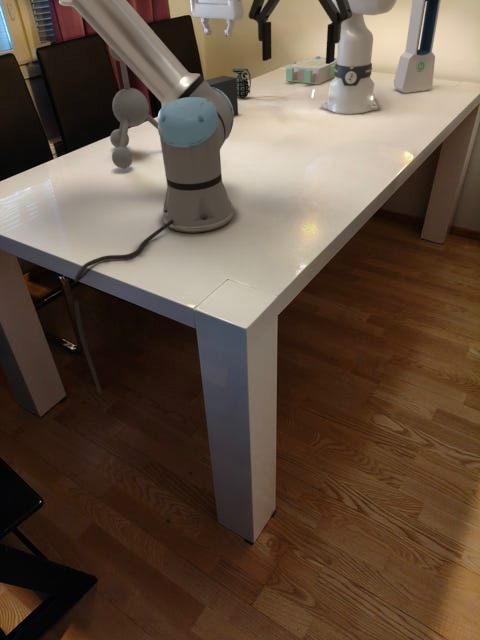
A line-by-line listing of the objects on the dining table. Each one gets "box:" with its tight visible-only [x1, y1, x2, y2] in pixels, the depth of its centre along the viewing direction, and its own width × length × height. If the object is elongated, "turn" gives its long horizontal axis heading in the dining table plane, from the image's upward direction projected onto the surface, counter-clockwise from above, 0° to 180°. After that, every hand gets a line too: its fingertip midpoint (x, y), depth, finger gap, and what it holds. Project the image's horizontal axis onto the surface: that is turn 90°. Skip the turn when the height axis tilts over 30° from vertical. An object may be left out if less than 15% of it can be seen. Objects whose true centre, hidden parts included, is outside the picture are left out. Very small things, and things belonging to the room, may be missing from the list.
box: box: [204, 75, 239, 118], centre depth 161 cm, size 23×6×12 cm, turn 136°
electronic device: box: [393, 0, 442, 94], centre depth 176 cm, size 12×8×30 cm, turn 105°
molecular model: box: [108, 45, 158, 169], centre depth 132 cm, size 24×22×30 cm
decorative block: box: [285, 55, 337, 85], centre depth 205 cm, size 26×6×20 cm
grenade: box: [231, 68, 252, 100], centre depth 184 cm, size 7×6×10 cm
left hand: (297, 61), depth 97 cm, fingers open, 13 cm apart
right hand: (218, 35), depth 154 cm, fingers open, 8 cm apart
